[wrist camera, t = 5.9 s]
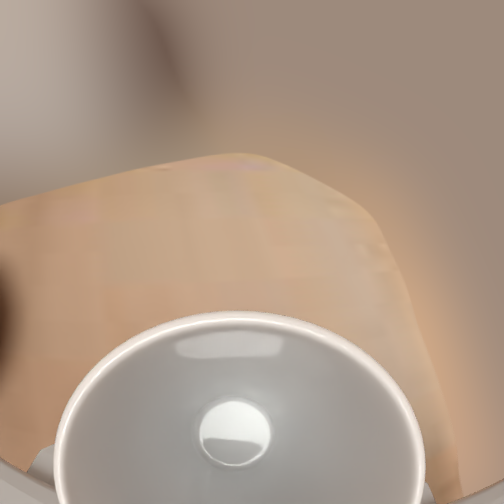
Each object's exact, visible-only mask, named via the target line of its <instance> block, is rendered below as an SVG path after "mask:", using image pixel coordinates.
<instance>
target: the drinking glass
mask: <svg viewBox="0 0 504 504" xmlns="http://www.w3.org/2000/svg"><path fill="white" fill-rule="evenodd" d="M425 472H426V462H425V449H424V443H423V437H422V434H421V430H420V427H419V423H418V421H417V418H416V416H415V413H414V411H413V408H412V406H411V405H410V403H409V401H408V399H407V397H406V396H405V394H404V392H403V391H402V390H401V388H400V387H399V385H398V384H397V382H396V381H395V380H394V379H393V378H392V376H391V375H390V374H389V373H388V372H387V371H386V369H385V368H384V367H382V366H381V365H380V364H379V363H378V362H377V361H376V360H375V359H374V358H373V357H372V356H370V355H369V354H368V353H366V352H365V351H364V350H363V349H361V348H360V347H359V346H357V345H355V344H354V343H352V342H351V341H349V340H347V339H346V338H344V337H342V336H340V335H338V334H336V333H334V332H332V331H330V330H328V329H326V328H323V327H321V326H318V325H316V324H313V323H311V322H307V321H304V320H301V319H297V318H294V317H289V316H285V315H280V314H275V313H267V312H259V311H240V310H234V311H216V312H208V313H200V314H195V315H191V316H186V317H181V318H178V319H175V320H171V321H168V322H165V323H162V324H159V325H157V326H155V327H152V328H150V329H147V330H145V331H143V332H141V333H139V334H137V335H136V336H134V337H132V338H130V339H128V340H127V341H125V342H124V343H122V344H121V345H119V346H118V347H116V348H115V349H113V350H112V351H111V352H110V353H108V354H107V355H106V356H105V357H104V358H102V359H101V360H100V361H99V362H98V363H97V364H96V365H95V366H94V367H93V368H92V369H91V370H90V371H89V372H88V373H87V375H86V376H85V377H84V378H83V380H82V381H81V382H80V384H79V385H78V386H77V388H76V390H75V391H74V393H73V394H72V396H71V398H70V399H69V401H68V403H67V406H66V408H65V410H64V412H63V414H62V417H61V420H60V423H59V426H58V429H57V434H56V439H55V444H54V454H53V474H54V482H55V488H56V493H57V497H58V501H59V504H420V503H421V500H422V496H423V490H424V484H425Z"/></svg>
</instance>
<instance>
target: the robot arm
mask: <svg viewBox="0 0 504 504" xmlns="http://www.w3.org/2000/svg"><path fill="white" fill-rule="evenodd" d="M53 454H54V444H53V445H51V446H48V447H46V448H44V449H42V450H40V452H39V453H38V455H37V456H36V458H35V460H34V461H33V463H32V465H31V466H30V468H29V469H28V471H27V473H26V472H24V471H22V470H21V469H19V468H17V467H15V466H14V465H12V464H10V463H9V462H7V461H5V460H4V459H2V458H0V504H59V501H58V497H57V493H56V488H55V482H54V474H53ZM420 504H436V502H435V499H434V497H433V495H432V492H431V490H430V488H429V485H428V483H426V482H425V484H424V490H423V496H422V500H421V503H420ZM448 504H504V479H502V480H500V481H498V482H496V483H494V484H493V485H490V486H488V487H486V488H484V489H482V490H479V491H477V492H475V493H473V494H470V495H468V496H466V497H463V498H461V499H458V500H456V501H453V502H450V503H448Z"/></svg>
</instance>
